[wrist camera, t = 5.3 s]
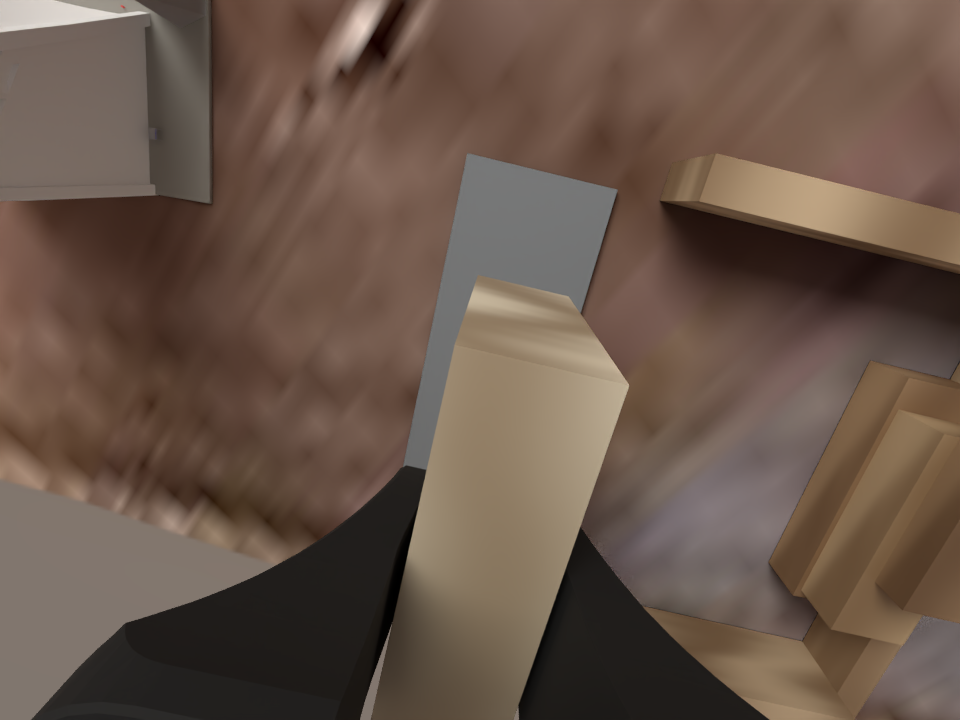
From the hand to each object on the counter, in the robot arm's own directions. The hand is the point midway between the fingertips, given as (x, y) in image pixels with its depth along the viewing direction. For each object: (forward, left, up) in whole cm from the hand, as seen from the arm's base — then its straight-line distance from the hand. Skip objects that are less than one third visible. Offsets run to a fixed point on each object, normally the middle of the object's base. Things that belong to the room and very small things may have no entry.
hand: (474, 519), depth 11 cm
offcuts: (-15, 0, -8) cm, 17 cm away
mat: (0, 0, -8) cm, 8 cm away
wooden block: (0, 0, -3) cm, 3 cm away
